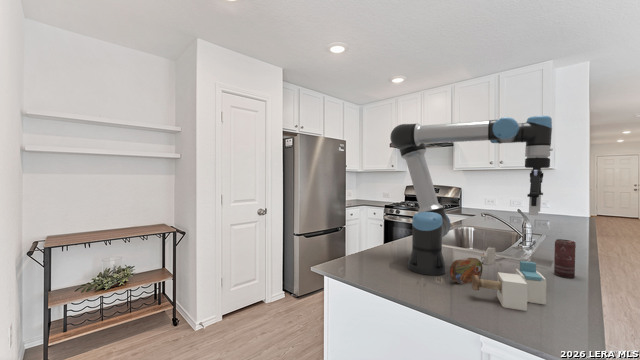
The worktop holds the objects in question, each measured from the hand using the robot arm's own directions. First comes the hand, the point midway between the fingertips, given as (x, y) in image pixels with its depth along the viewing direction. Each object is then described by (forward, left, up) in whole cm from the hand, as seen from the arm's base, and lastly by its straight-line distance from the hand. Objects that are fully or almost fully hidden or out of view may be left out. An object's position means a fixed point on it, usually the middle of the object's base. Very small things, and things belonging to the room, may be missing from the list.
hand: (534, 213), depth 106 cm
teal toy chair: (-7, -21, -18) cm, 29 cm away
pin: (-18, -27, -23) cm, 40 cm away
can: (+13, +9, -26) cm, 30 cm away
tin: (-24, -12, -26) cm, 37 cm away
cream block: (-13, -27, -25) cm, 40 cm away
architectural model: (-12, +15, -26) cm, 32 cm away
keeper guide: (-7, -21, -25) cm, 34 cm away
